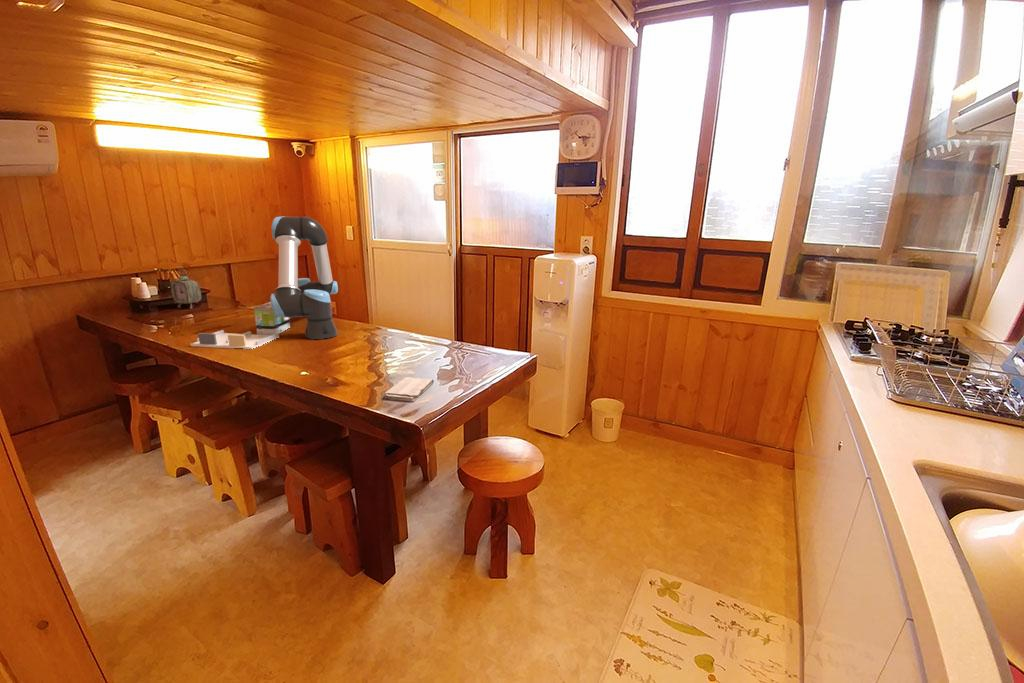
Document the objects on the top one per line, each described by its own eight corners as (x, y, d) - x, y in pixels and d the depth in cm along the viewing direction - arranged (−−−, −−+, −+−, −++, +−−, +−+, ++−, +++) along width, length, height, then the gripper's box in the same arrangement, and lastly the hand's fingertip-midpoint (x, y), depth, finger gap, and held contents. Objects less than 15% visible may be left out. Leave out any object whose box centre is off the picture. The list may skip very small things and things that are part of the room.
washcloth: (382, 400, 152) (382, 392, 152) (404, 381, 169) (404, 374, 168) (415, 404, 150) (415, 395, 149) (434, 384, 167) (434, 376, 166)
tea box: (276, 335, 226) (272, 307, 222) (256, 335, 226) (252, 307, 222) (291, 328, 240) (287, 301, 236) (272, 328, 241) (268, 301, 236)
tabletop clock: (174, 308, 284) (166, 268, 277) (188, 305, 292) (180, 267, 285) (191, 310, 279) (183, 270, 272) (204, 307, 288) (197, 268, 281)
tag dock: (279, 337, 223) (277, 326, 221) (252, 349, 204) (250, 336, 202) (222, 334, 226) (220, 323, 225) (190, 346, 207) (188, 333, 206)
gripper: (317, 316, 250) (294, 325, 230) (276, 314, 253) (250, 323, 233) (315, 303, 248) (293, 311, 228) (274, 301, 251) (248, 309, 231)
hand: (271, 317), depth 230 cm, fingers open, 13 cm apart
